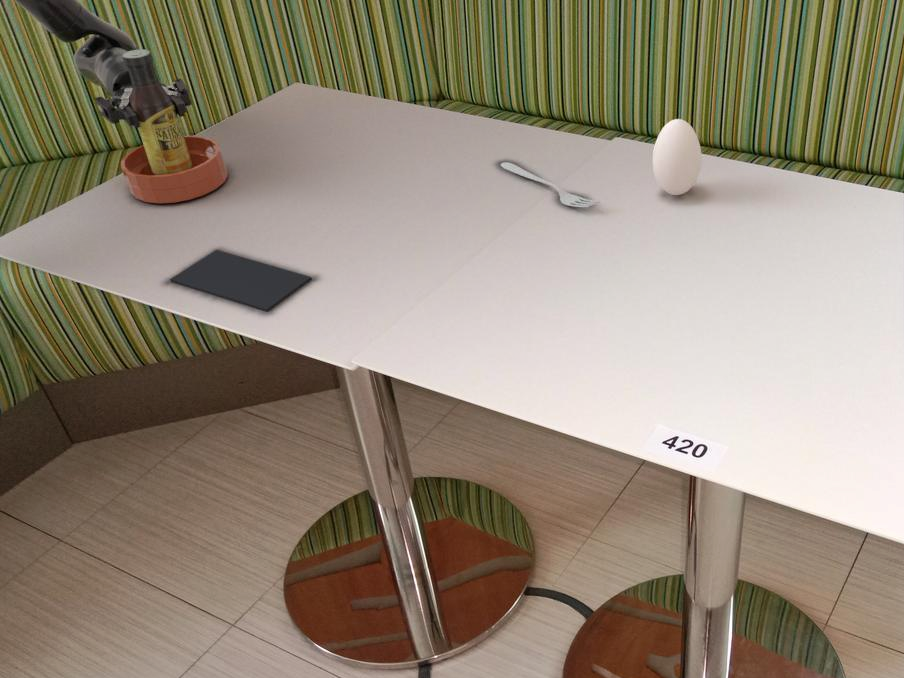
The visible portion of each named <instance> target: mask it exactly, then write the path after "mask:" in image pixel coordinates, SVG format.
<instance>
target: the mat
mask: <svg viewBox="0 0 904 678" xmlns="http://www.w3.org/2000/svg"><path fill="white" fill-rule="evenodd" d="M169 280H170V282H171V283H173V284H177V285H180V286H183V287H185V288H189V289H192V290H195V291H199V292H202V293H205V294H208V295H212V296H215V297H218V298H222V299H225V300H228V301H230V302H234V303H238V304H241V305H244V306H247V307H250V308H253V309H256V310H260V311H263V312H266V313H268V312H269V311H271V310H272V309H273V308H275V307H276V306H278V305H280V304H281V303H282V302H283V301H285V300H286V299H288V298H289V297H290V296H292V295H293V294H294V293H296V292H297V291H299V289H301V288H303V287H304V286H305V285H307V284H308V283H309V282H311V281H312V280H313V279H312V276H309V275H306V274H302V273H299V272H295V271H292V270H289V269H285V268H282V267H278V266H274V265H272V264H268V263H264V262H260V261H257V260H253V259H250V258H247V257H244V256H240V255H236V254H233V253H230V252H226V251H223V250H219V249H215V250H214V251H212V252H210V253H209V254H207V255H205V256H204V257H203V258H201V259H200V260H198V261H196V262H194V264H192V265H190V266H188V267H187V268H186V269H185V268H184V270H182V271H181V272H179V273H178V274H176V275H174V276H173V277H171V278H170V279H169Z"/></svg>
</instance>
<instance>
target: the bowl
mask: <svg viewBox="0 0 904 678" xmlns="http://www.w3.org/2000/svg"><path fill="white" fill-rule="evenodd" d="M184 138H185V142H186V145H187V148H188V152H189V155H190V158H191V162H192V168H191V169H188V170H185V171H181V172H177V173H172V174H166V175H154V173H153V172H152V170H151V166H150V163H149V160H148V158H147V154H146V151H145V148H144V145H143V144H141V145H139V146H137V147H135V148H134V149H132V150H131V151H129V152H128V153H126V154H125V155H124V157H123V158H122V159H121V161H120V168H121V172H122V174H123V176H124V179H125V181H126V184H127V186H128V189H129V192H130V194H131V195H132V196H133V197H134V198H135V199H137V200H140V201H142V202H145V203H151V204H172V203H173V204H174V203H179V202H185V201H190V200H193V199H196V198H199V197H203V196H205V195H207V194H209V193H211V192H213V191H215V190H216V189H218V188H219V187H220V186H222V185H223V184H224V183H225V182H226V180H227V178H228V176H229V175H228V169H227V166H226V163H225V159H224V156H223V152H222V149H221V146H220V144H219V142H217V141H216V140H214V139H212V138H210V137H206V136H202V135H194V134H193V135H192V134H191V135H184Z"/></svg>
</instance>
